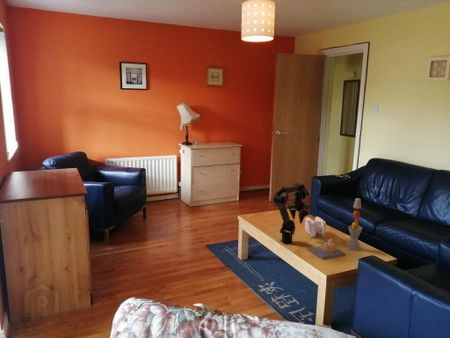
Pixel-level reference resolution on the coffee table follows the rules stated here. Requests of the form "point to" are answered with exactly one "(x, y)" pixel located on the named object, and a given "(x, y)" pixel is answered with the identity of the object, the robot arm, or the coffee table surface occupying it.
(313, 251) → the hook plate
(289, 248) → the coffee table surface
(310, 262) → the coffee table surface
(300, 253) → the coffee table surface
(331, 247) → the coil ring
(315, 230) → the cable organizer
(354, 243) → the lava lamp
